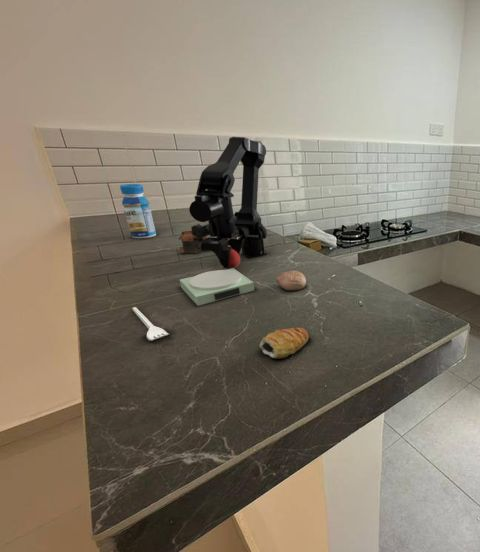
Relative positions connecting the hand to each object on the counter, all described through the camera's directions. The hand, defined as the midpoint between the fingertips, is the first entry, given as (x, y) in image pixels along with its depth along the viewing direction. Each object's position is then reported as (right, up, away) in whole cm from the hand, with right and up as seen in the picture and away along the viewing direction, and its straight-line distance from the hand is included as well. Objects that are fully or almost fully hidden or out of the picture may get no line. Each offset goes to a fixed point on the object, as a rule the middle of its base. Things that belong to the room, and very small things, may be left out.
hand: (230, 264), depth 101 cm
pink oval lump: (+22, -7, -8) cm, 24 cm away
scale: (+3, -7, -12) cm, 15 cm away
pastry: (+30, -18, -35) cm, 50 cm away
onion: (0, -2, +1) cm, 2 cm away
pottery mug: (-21, +5, +16) cm, 27 cm away
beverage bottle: (-50, +12, +29) cm, 59 cm away
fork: (-2, -15, -31) cm, 34 cm away
